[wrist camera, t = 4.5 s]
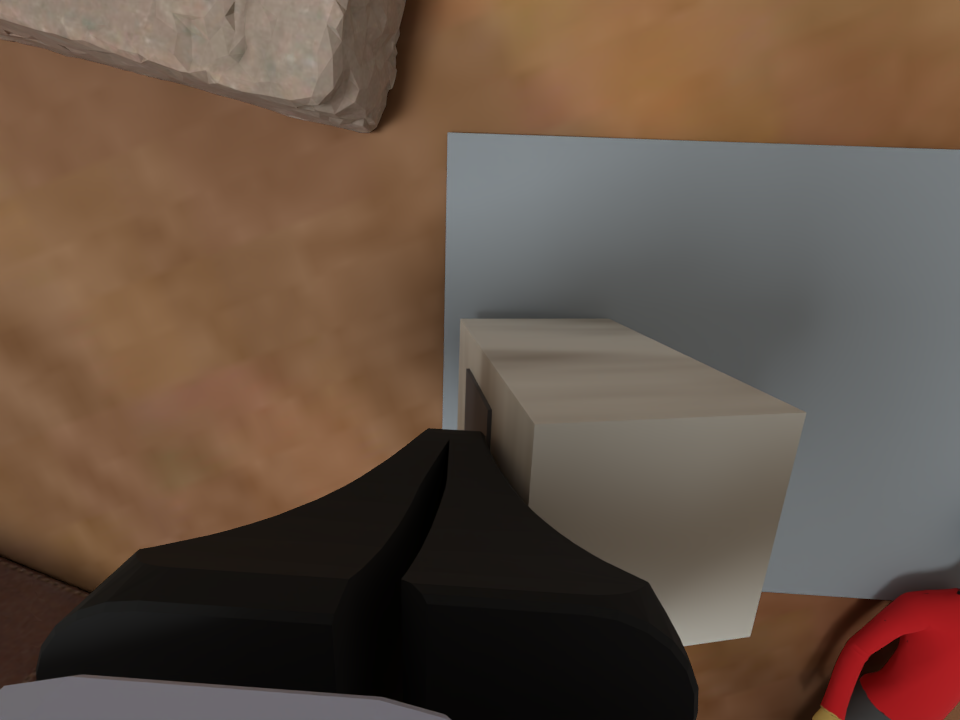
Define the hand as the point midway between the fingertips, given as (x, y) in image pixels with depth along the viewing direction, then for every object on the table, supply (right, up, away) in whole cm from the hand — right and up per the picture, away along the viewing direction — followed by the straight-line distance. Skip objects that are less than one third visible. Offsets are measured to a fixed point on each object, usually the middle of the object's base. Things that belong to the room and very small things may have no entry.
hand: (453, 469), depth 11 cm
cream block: (+2, +1, +5) cm, 6 cm away
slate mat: (+9, +1, +6) cm, 11 cm away
